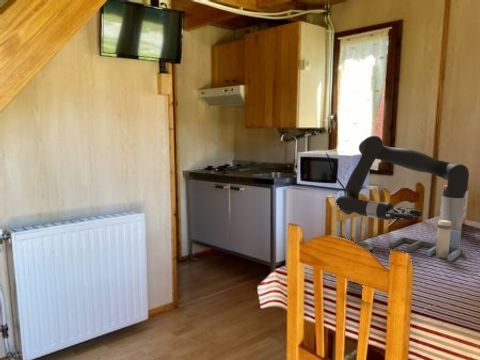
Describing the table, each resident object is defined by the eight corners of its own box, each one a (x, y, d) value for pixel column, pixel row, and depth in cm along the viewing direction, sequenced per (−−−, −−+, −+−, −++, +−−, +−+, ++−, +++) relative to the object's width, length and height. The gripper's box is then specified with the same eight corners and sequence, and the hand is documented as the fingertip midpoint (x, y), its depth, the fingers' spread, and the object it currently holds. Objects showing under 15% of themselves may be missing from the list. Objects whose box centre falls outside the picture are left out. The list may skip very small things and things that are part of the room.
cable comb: (400, 240, 173) (402, 220, 172) (463, 253, 156) (465, 232, 154) (387, 246, 164) (388, 225, 163) (452, 261, 146) (454, 238, 145)
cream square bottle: (432, 254, 155) (435, 220, 153) (443, 253, 155) (446, 219, 154) (440, 258, 150) (443, 223, 148) (451, 257, 151) (454, 222, 149)
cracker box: (449, 227, 197) (452, 186, 194) (438, 224, 202) (441, 185, 199) (466, 224, 203) (469, 185, 200) (455, 221, 209) (458, 183, 206)
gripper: (372, 204, 164) (410, 209, 153) (387, 199, 174) (424, 204, 163) (371, 221, 165) (410, 228, 154) (386, 215, 175) (423, 221, 164)
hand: (417, 215), depth 158 cm, fingers open, 8 cm apart
